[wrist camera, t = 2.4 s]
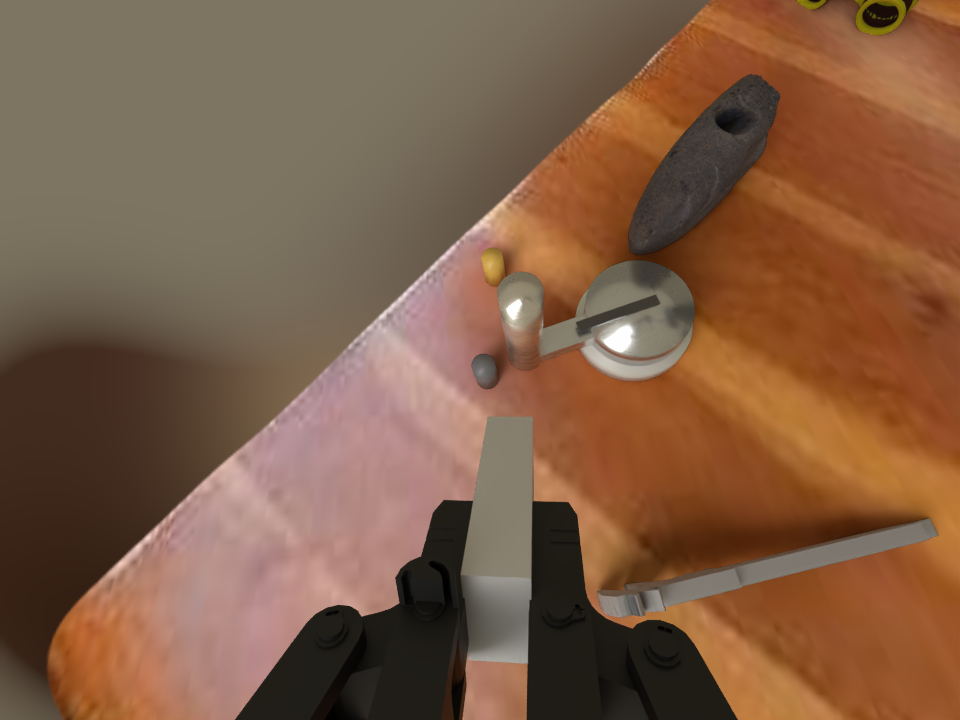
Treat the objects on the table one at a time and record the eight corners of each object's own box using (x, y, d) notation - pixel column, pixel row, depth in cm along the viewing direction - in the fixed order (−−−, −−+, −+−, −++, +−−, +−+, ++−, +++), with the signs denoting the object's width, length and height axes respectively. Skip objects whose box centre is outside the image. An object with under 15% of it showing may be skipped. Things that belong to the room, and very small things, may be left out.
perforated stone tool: (651, 287, 37) (674, 232, 31) (596, 248, 39) (607, 189, 32) (768, 161, 40) (811, 87, 33) (711, 131, 41) (742, 54, 35)
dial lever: (659, 262, 36) (697, 170, 27) (704, 346, 33) (763, 274, 24) (493, 319, 36) (477, 245, 27) (526, 408, 33) (521, 358, 24)
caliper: (600, 609, 30) (614, 624, 24) (595, 590, 31) (607, 600, 25) (933, 535, 29) (1030, 533, 24) (923, 517, 30) (1016, 510, 24)
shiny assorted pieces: (632, 221, 39) (638, 196, 36) (707, 359, 35) (721, 343, 32) (444, 285, 39) (437, 266, 36) (494, 433, 34) (490, 423, 32)
